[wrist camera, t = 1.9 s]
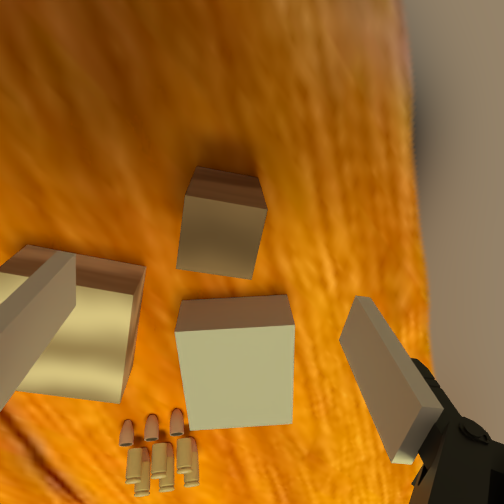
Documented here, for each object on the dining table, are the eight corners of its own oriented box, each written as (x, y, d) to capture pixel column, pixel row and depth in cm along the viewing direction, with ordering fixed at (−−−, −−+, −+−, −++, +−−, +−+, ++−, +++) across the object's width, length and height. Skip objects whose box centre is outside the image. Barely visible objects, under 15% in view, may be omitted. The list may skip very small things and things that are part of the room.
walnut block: (196, 166, 28) (185, 195, 21) (258, 177, 29) (267, 209, 22) (188, 224, 30) (176, 268, 23) (246, 233, 31) (251, 279, 24)
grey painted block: (182, 298, 34) (174, 331, 29) (286, 292, 34) (295, 324, 30) (194, 390, 39) (190, 430, 34) (285, 384, 39) (292, 423, 35)
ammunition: (200, 491, 39) (176, 445, 35) (136, 503, 39) (106, 459, 36) (204, 450, 43) (183, 405, 40) (146, 461, 43) (120, 418, 40)
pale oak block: (29, 243, 30) (-6, 271, 26) (147, 265, 32) (133, 295, 27) (31, 349, 35) (2, 388, 31) (133, 364, 37) (119, 403, 32)
